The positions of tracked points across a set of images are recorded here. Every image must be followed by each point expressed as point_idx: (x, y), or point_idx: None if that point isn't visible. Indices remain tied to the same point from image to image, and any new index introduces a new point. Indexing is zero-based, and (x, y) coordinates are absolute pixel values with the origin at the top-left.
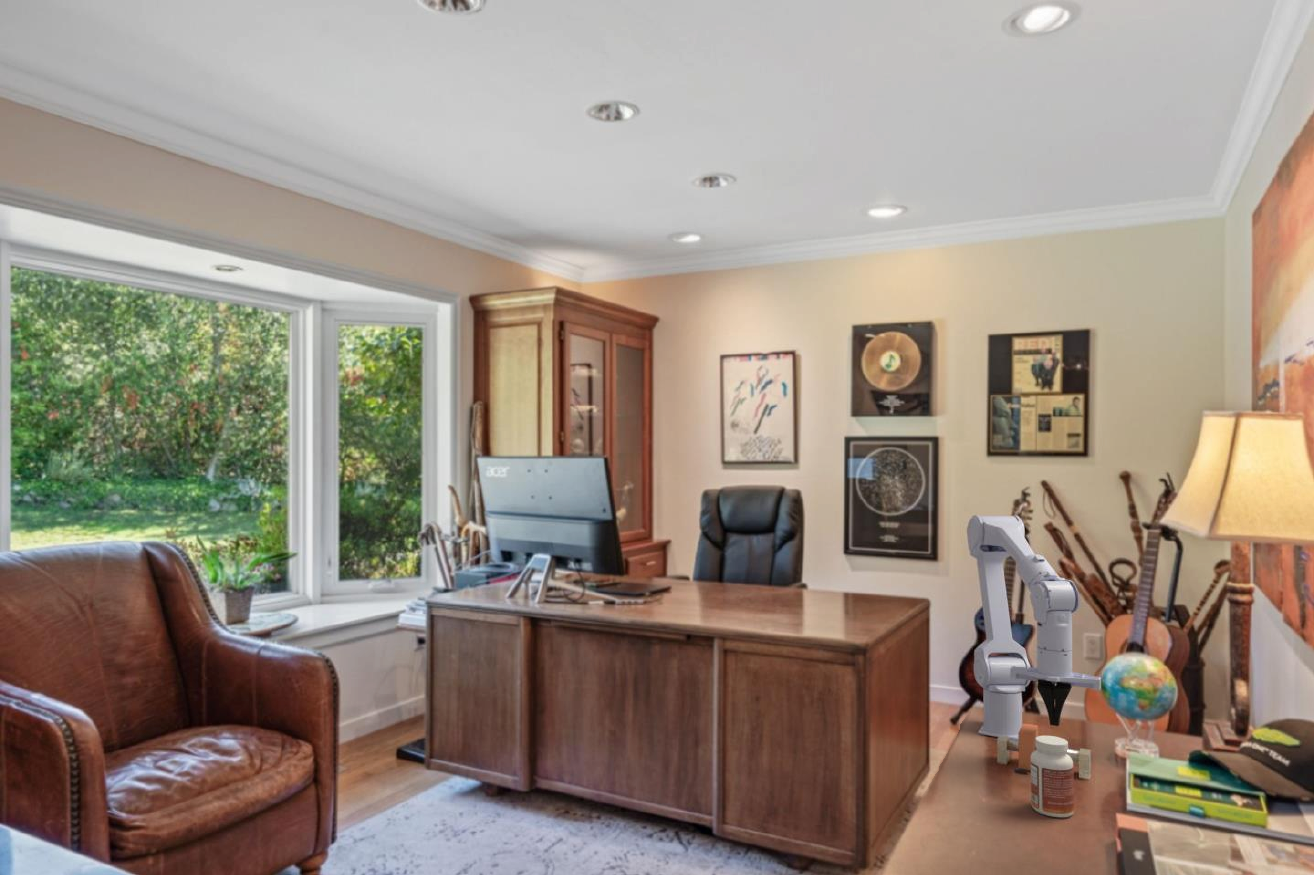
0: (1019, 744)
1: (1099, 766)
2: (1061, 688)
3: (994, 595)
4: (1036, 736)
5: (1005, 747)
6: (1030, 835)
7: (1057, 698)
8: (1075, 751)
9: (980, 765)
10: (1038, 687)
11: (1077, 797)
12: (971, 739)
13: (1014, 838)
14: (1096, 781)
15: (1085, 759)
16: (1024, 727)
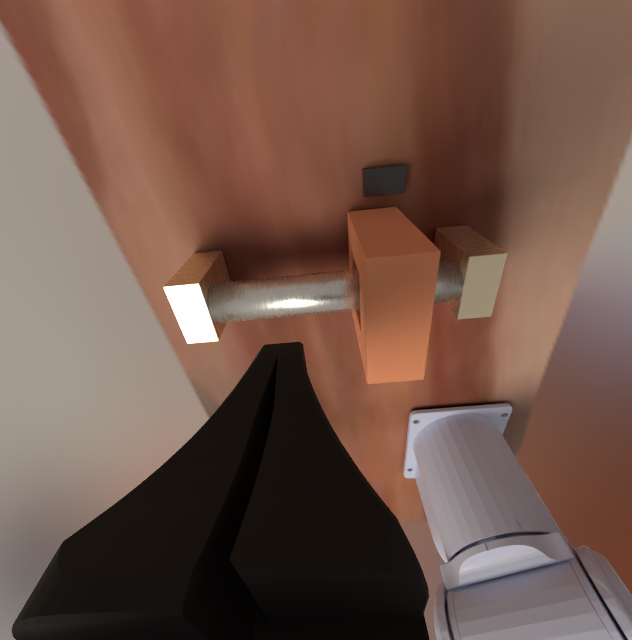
0: (417, 232)
1: (216, 363)
2: (100, 629)
3: None
4: (362, 326)
5: (462, 247)
6: None
7: (208, 477)
8: (220, 304)
9: (524, 159)
10: (408, 572)
11: (142, 17)
12: (530, 365)
13: None
14: (175, 253)
15: (182, 278)
16: (416, 336)
